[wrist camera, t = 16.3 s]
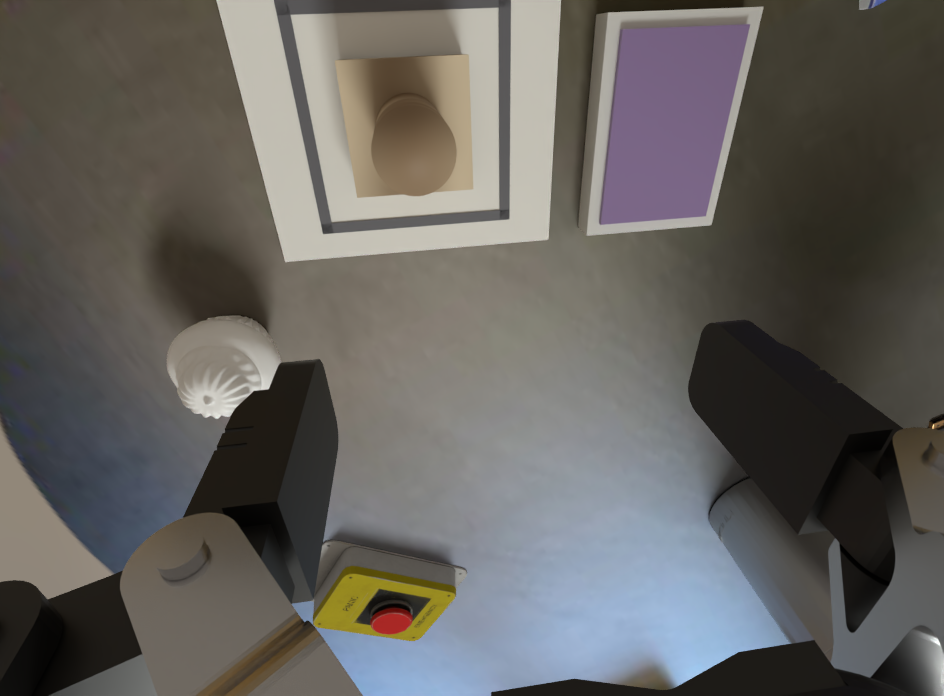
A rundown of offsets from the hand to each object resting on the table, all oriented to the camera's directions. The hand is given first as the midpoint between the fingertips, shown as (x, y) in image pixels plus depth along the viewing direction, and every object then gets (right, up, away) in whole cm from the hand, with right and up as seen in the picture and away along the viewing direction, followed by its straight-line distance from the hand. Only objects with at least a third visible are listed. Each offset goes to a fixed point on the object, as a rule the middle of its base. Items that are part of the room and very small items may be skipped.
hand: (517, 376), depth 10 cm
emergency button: (-10, -22, +37) cm, 44 cm away
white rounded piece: (-16, +1, +21) cm, 26 cm away
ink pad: (+9, +13, +17) cm, 24 cm away
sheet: (-4, +13, +15) cm, 20 cm away
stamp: (-4, +13, +15) cm, 20 cm away
